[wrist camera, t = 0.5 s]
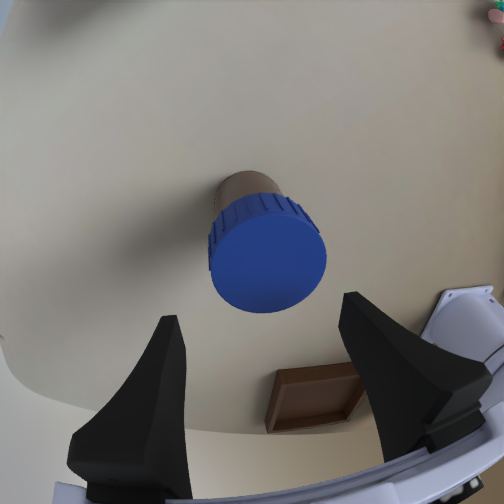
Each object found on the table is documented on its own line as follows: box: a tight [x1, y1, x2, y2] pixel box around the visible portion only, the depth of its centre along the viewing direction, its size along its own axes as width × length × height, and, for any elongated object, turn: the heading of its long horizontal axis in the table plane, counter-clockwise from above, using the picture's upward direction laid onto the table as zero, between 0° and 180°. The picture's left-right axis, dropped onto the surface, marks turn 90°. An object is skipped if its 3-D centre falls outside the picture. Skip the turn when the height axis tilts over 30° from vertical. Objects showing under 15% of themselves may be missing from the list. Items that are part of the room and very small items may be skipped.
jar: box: [215, 171, 284, 219], centre depth 17 cm, size 4×4×7 cm
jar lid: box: [208, 192, 327, 313], centre depth 15 cm, size 5×5×3 cm
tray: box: [265, 362, 367, 433], centre depth 33 cm, size 11×11×2 cm
